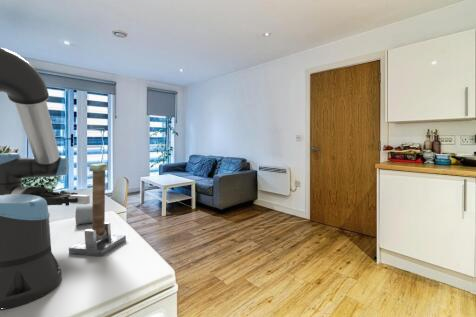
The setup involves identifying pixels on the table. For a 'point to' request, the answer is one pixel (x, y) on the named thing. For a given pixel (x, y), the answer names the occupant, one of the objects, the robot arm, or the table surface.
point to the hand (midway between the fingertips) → (87, 199)
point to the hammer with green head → (98, 200)
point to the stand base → (97, 243)
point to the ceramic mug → (83, 214)
